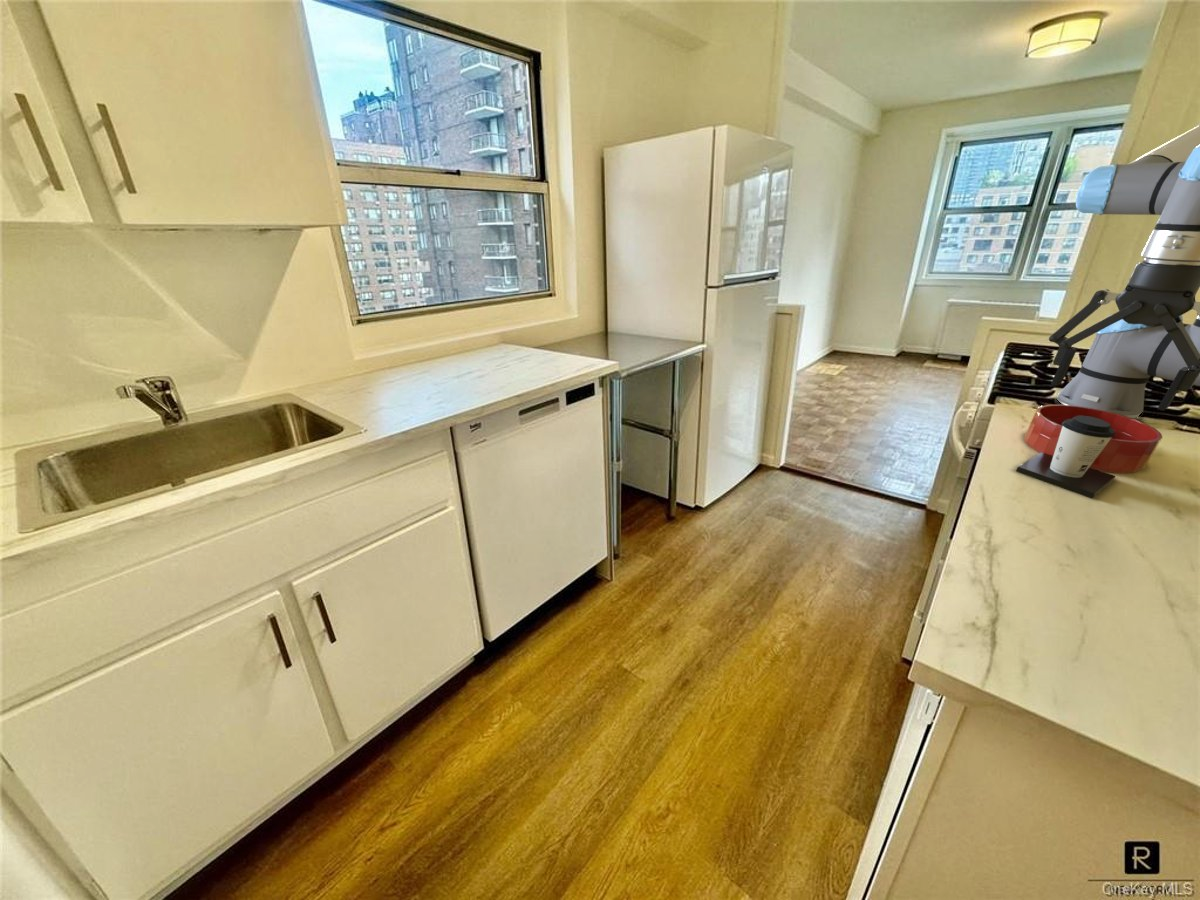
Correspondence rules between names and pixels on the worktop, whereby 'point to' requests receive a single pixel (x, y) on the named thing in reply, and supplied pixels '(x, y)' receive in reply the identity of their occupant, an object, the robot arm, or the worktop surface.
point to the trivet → (1083, 485)
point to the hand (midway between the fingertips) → (1105, 395)
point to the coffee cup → (1080, 445)
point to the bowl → (1119, 453)
